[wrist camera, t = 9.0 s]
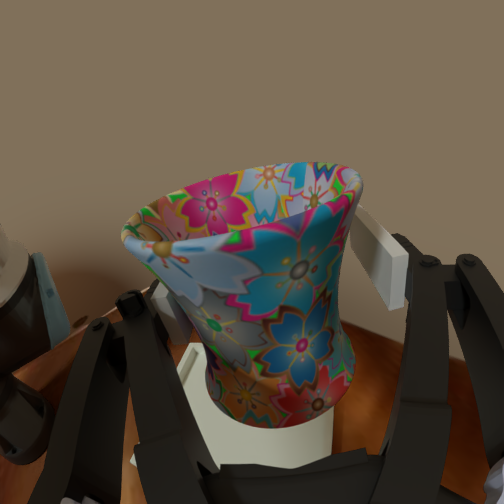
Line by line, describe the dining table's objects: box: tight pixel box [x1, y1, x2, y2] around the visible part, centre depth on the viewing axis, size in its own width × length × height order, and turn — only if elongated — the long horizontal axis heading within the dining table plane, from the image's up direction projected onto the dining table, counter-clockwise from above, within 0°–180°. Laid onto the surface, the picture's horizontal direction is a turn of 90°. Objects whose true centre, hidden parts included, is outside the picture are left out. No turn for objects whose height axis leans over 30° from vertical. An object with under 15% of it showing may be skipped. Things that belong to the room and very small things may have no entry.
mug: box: [121, 162, 363, 429], centre depth 13 cm, size 12×9×11 cm
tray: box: [130, 343, 334, 470], centre depth 27 cm, size 20×20×2 cm
